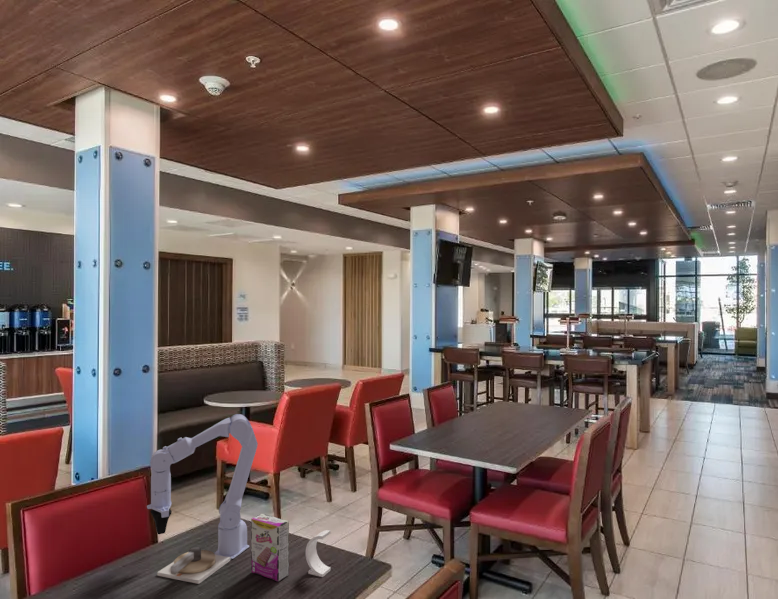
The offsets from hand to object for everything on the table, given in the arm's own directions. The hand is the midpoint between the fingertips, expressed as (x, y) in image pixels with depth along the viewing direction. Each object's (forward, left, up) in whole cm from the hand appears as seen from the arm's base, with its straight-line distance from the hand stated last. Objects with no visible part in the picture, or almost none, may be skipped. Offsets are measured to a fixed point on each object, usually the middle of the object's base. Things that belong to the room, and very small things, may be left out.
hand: (161, 533), depth 167 cm
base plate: (-1, +12, -9) cm, 15 cm away
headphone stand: (-11, +49, -10) cm, 51 cm away
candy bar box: (-5, +36, -10) cm, 38 cm away
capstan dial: (+1, +12, -8) cm, 15 cm away
